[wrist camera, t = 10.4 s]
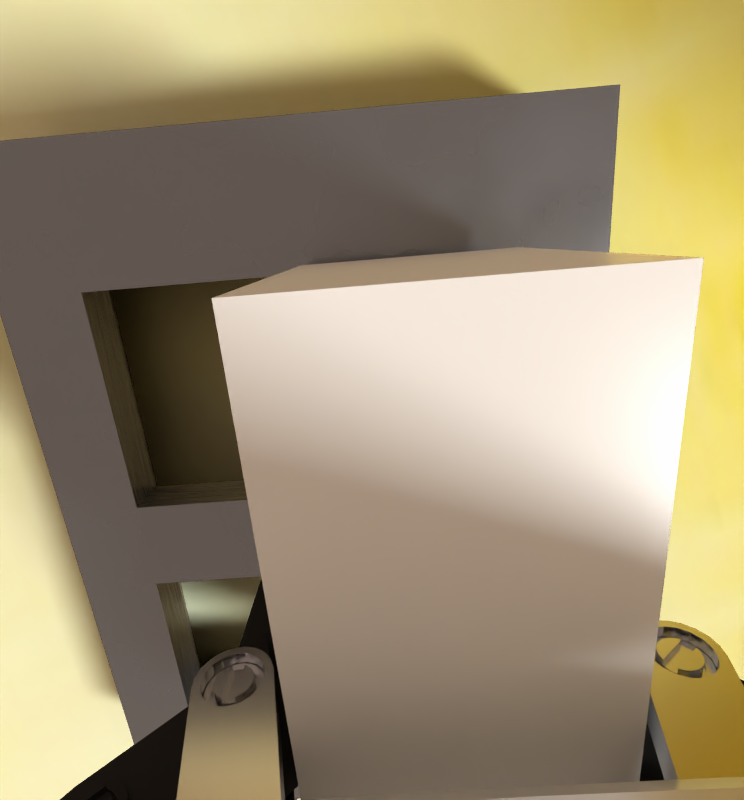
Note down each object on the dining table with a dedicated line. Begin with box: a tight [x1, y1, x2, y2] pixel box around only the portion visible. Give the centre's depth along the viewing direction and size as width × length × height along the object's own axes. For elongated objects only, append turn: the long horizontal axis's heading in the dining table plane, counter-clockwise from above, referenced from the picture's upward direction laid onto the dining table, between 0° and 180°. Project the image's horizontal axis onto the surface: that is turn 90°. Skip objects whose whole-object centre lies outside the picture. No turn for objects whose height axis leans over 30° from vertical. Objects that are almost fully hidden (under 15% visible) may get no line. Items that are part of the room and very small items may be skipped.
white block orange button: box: [212, 247, 704, 800], centre depth 11 cm, size 4×14×10 cm, turn 5°
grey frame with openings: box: [0, 85, 620, 799], centre depth 15 cm, size 14×20×3 cm
